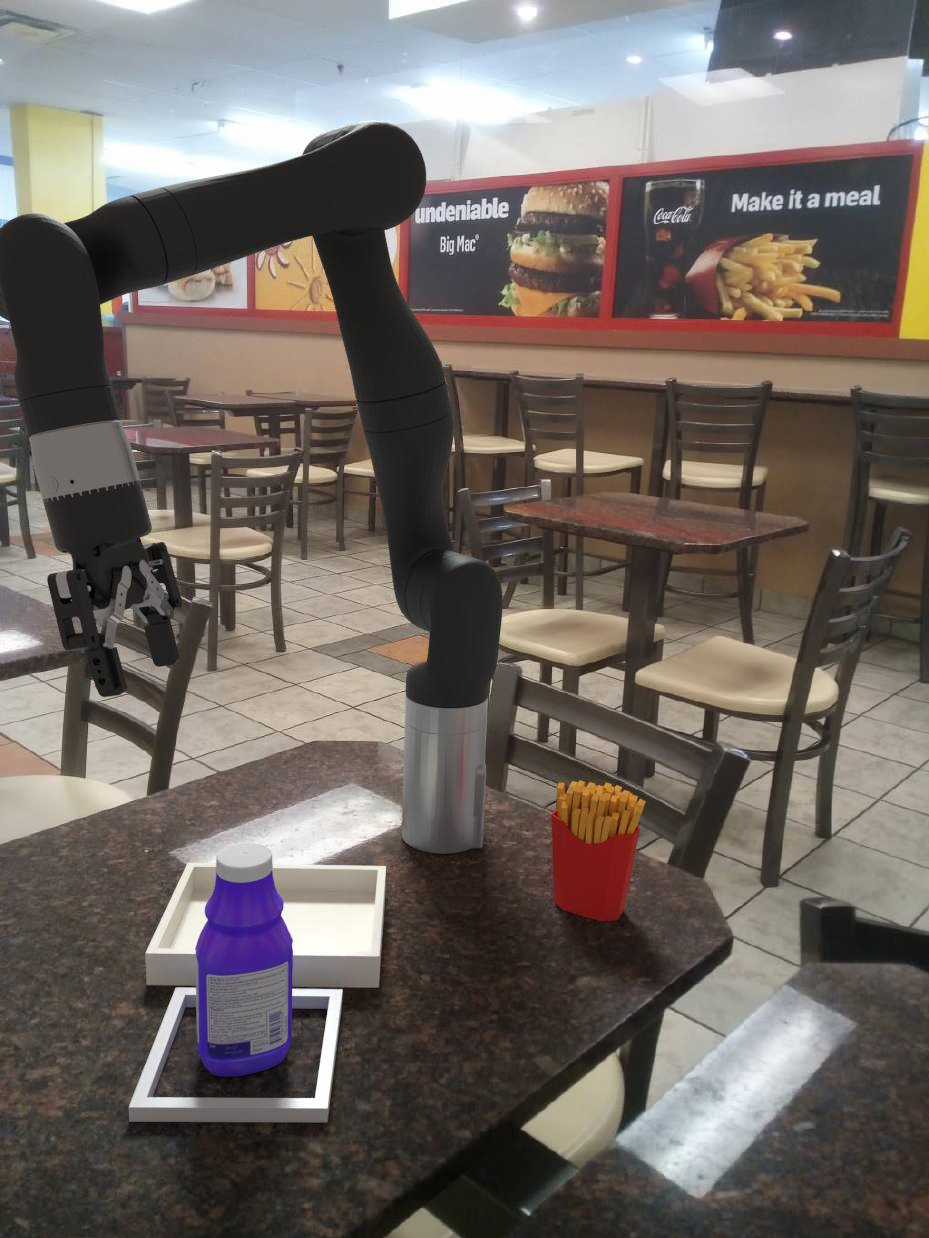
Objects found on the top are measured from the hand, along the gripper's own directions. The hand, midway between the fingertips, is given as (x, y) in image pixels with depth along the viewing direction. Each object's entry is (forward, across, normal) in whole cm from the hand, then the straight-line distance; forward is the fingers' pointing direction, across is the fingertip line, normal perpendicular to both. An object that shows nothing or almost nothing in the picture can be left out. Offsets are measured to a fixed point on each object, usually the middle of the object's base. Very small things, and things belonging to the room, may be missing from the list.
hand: (142, 678), depth 83 cm
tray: (+28, +7, -2) cm, 29 cm away
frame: (+29, -9, -6) cm, 31 cm away
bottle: (+29, -9, -6) cm, 31 cm away
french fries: (+35, +21, -30) cm, 50 cm away
